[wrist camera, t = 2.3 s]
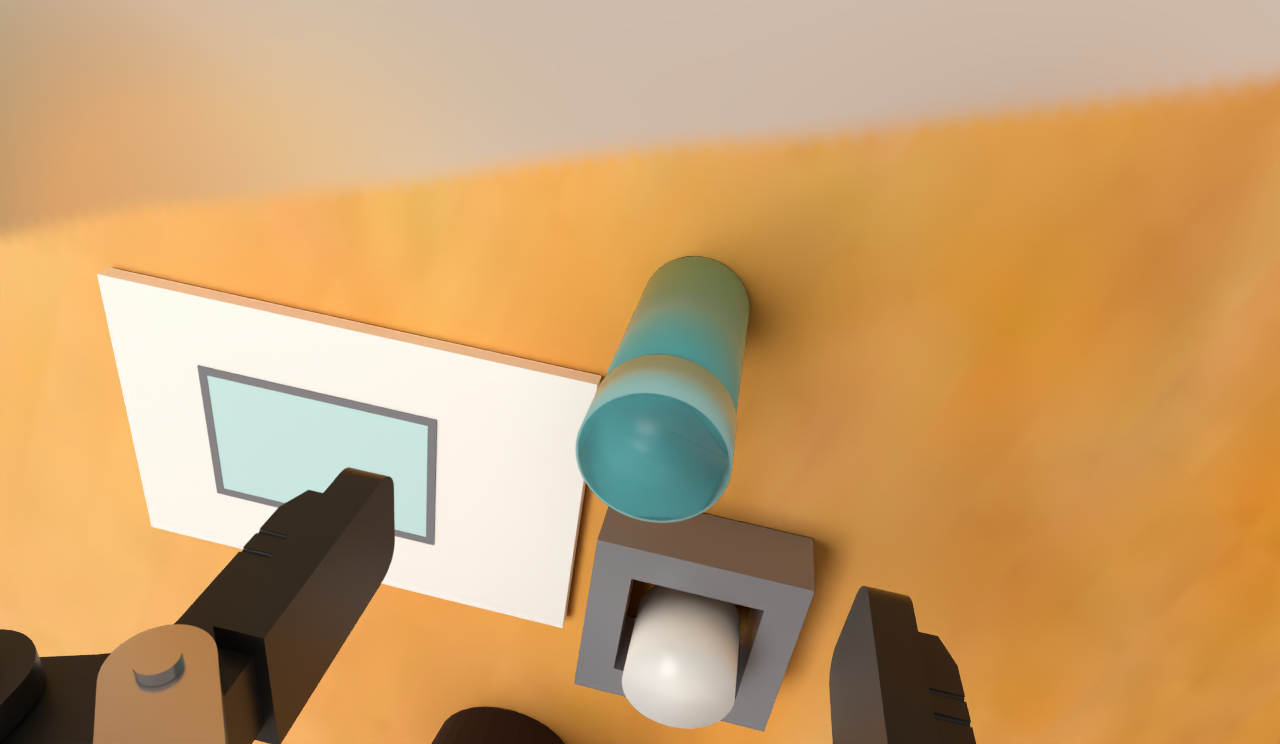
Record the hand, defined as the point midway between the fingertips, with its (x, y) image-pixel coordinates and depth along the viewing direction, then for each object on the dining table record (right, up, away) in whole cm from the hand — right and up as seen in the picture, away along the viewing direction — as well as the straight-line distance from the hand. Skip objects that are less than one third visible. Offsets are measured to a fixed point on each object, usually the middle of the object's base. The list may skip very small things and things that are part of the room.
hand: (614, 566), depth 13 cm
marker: (+2, +5, +10) cm, 11 cm away
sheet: (-10, 0, +15) cm, 18 cm away
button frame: (+2, -5, +15) cm, 16 cm away
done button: (+2, -5, +14) cm, 15 cm away
